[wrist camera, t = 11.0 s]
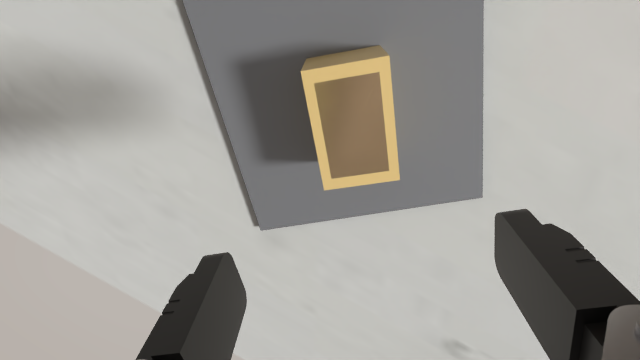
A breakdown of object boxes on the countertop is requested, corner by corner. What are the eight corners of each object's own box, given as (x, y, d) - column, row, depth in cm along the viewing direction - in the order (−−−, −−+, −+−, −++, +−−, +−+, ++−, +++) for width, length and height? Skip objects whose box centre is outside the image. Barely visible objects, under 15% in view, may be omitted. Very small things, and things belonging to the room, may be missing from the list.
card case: (379, 45, 23) (389, 55, 19) (389, 151, 26) (399, 180, 22) (306, 58, 23) (300, 71, 19) (325, 161, 26) (324, 190, 22)
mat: (479, 193, 28) (482, 197, 27) (262, 226, 30) (260, 230, 30) (480, -79, 20) (484, -81, 19) (183, -7, 22) (180, -7, 22)
